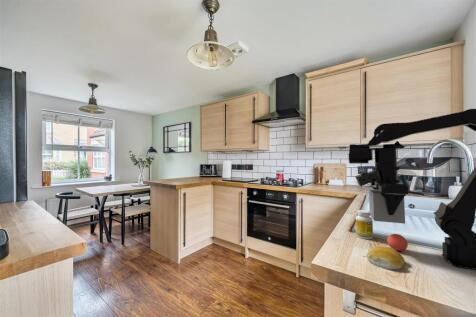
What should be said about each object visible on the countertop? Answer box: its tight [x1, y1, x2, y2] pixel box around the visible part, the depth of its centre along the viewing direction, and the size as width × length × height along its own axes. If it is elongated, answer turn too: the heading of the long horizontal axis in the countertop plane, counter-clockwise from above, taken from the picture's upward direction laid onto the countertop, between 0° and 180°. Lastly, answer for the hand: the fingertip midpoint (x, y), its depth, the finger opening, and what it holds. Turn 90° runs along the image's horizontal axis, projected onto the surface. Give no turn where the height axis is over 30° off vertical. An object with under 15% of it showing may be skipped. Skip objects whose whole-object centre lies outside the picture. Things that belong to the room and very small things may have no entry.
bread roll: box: [366, 246, 405, 271], centre depth 56 cm, size 8×9×4 cm
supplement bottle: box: [355, 209, 374, 240], centre depth 73 cm, size 5×5×10 cm
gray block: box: [368, 188, 406, 224], centre depth 63 cm, size 8×8×9 cm
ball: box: [386, 233, 408, 252], centre depth 62 cm, size 5×5×5 cm
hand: (387, 211), depth 63 cm, fingers closed on gray block, 8 cm apart
